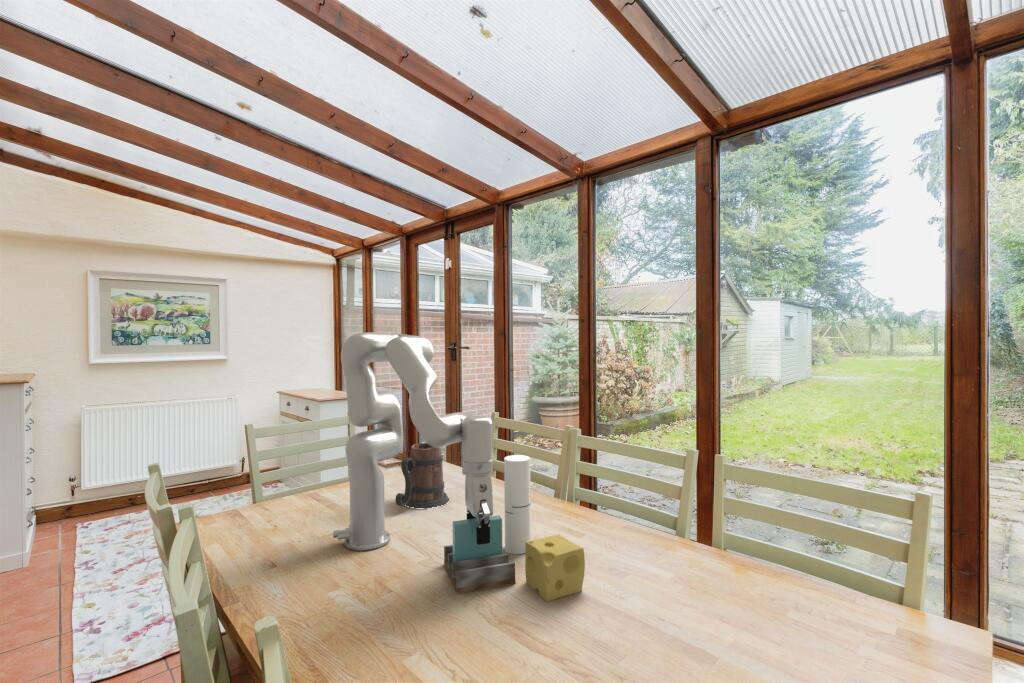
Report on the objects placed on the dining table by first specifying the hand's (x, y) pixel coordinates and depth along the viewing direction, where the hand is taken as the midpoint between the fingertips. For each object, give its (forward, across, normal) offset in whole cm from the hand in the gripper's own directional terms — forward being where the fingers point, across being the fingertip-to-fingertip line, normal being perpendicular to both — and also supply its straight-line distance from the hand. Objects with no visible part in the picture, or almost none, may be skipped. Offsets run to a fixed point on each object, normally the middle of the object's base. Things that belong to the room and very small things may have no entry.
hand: (477, 535), depth 120 cm
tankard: (+10, +56, +6) cm, 57 cm away
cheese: (+10, -12, -15) cm, 21 cm away
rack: (+9, 0, 0) cm, 9 cm away
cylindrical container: (+10, +10, -14) cm, 20 cm away
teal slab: (+8, 0, 0) cm, 8 cm away
